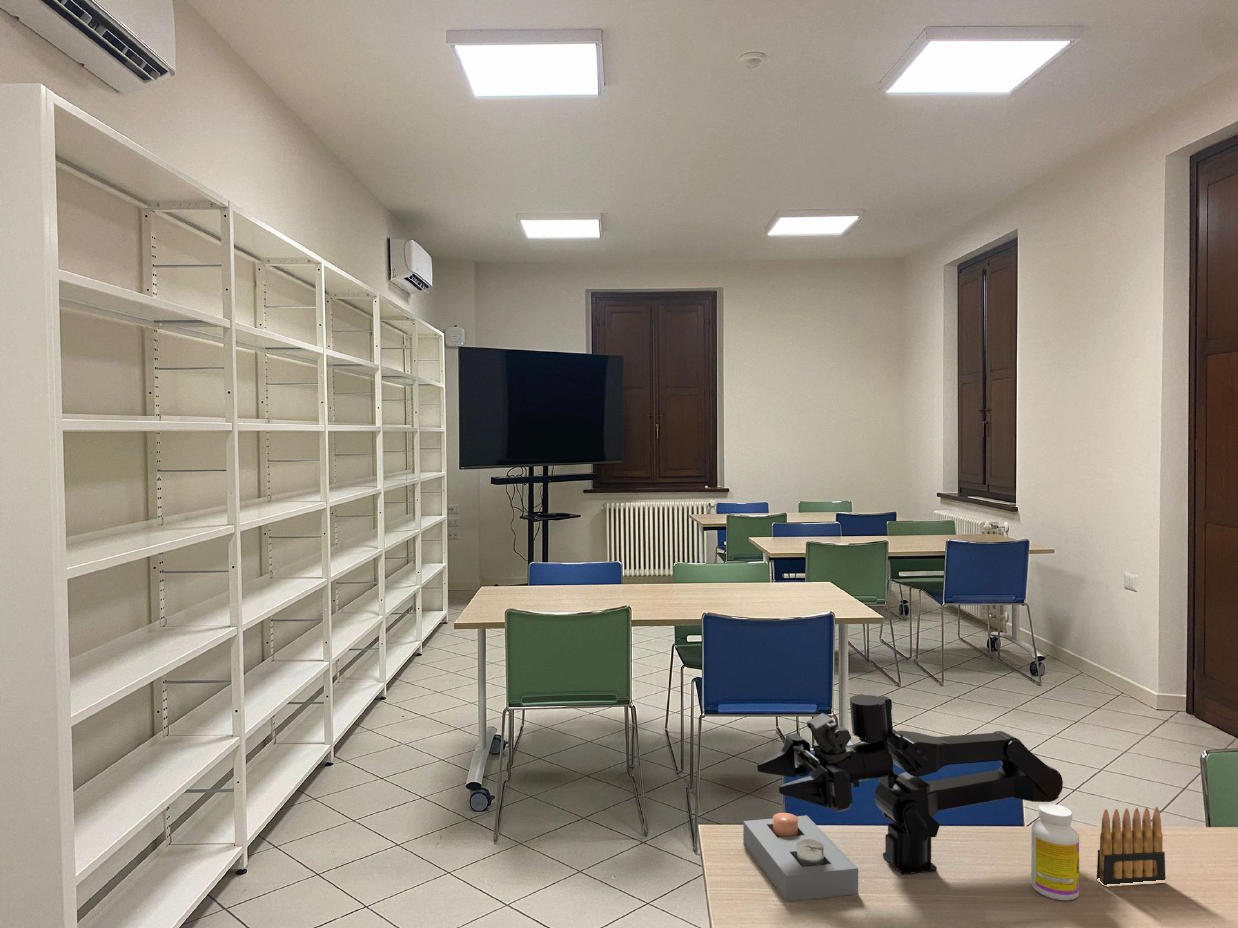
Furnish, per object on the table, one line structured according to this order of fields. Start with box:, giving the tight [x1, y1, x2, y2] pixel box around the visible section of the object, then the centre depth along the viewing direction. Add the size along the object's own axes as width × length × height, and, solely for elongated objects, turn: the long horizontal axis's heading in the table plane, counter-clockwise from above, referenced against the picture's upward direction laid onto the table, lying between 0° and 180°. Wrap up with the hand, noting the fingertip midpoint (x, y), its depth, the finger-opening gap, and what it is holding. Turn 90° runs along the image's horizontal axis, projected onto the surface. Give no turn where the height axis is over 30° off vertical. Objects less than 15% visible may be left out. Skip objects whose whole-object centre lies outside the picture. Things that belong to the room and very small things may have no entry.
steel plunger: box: [797, 839, 824, 867], centre depth 129 cm, size 4×4×3 cm
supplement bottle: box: [1030, 803, 1080, 901], centre depth 126 cm, size 7×7×13 cm
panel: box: [742, 815, 859, 903], centre depth 134 cm, size 12×19×4 cm, turn 11°
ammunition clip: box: [1096, 806, 1167, 885], centre depth 129 cm, size 11×2×12 cm, turn 96°
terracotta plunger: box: [772, 812, 798, 838], centre depth 138 cm, size 4×4×3 cm
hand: (767, 778), depth 130 cm, fingers open, 9 cm apart
